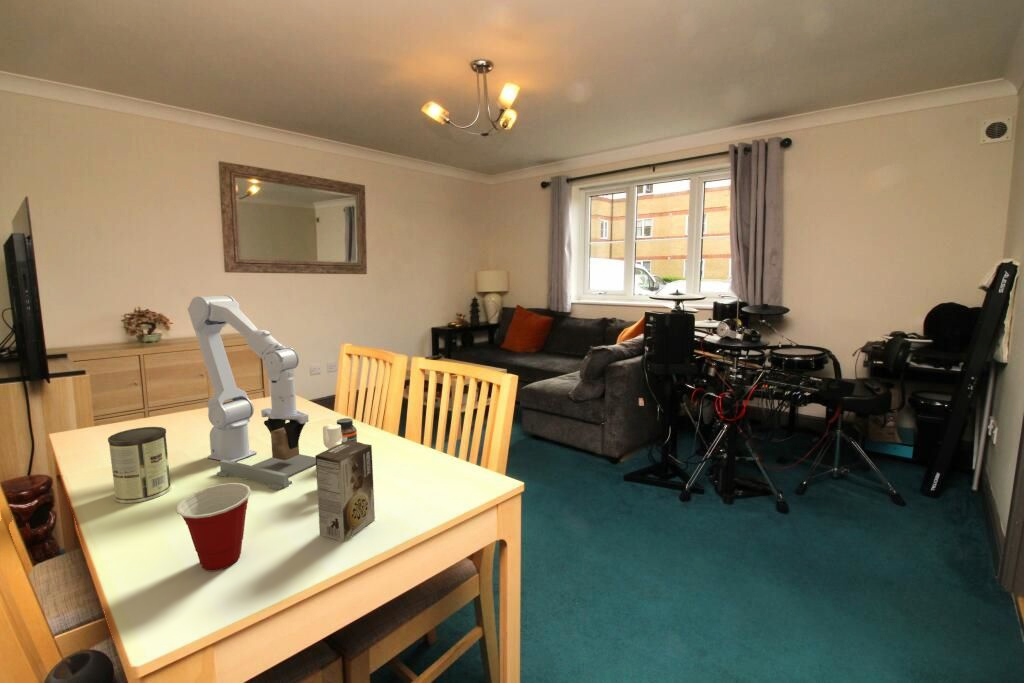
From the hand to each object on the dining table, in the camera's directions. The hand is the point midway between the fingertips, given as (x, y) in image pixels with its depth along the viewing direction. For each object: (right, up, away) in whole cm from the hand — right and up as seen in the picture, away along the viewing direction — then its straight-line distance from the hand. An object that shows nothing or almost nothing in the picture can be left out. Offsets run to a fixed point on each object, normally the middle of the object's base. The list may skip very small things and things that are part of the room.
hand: (286, 446), depth 125 cm
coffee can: (-25, -7, -16) cm, 31 cm away
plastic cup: (+9, -11, -42) cm, 45 cm away
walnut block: (0, -3, 0) cm, 3 cm away
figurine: (+18, -7, -13) cm, 23 cm away
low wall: (-4, -6, -8) cm, 11 cm away
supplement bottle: (+14, -5, +4) cm, 16 cm away
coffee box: (+27, -10, -31) cm, 42 cm away
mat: (0, -5, +1) cm, 5 cm away
